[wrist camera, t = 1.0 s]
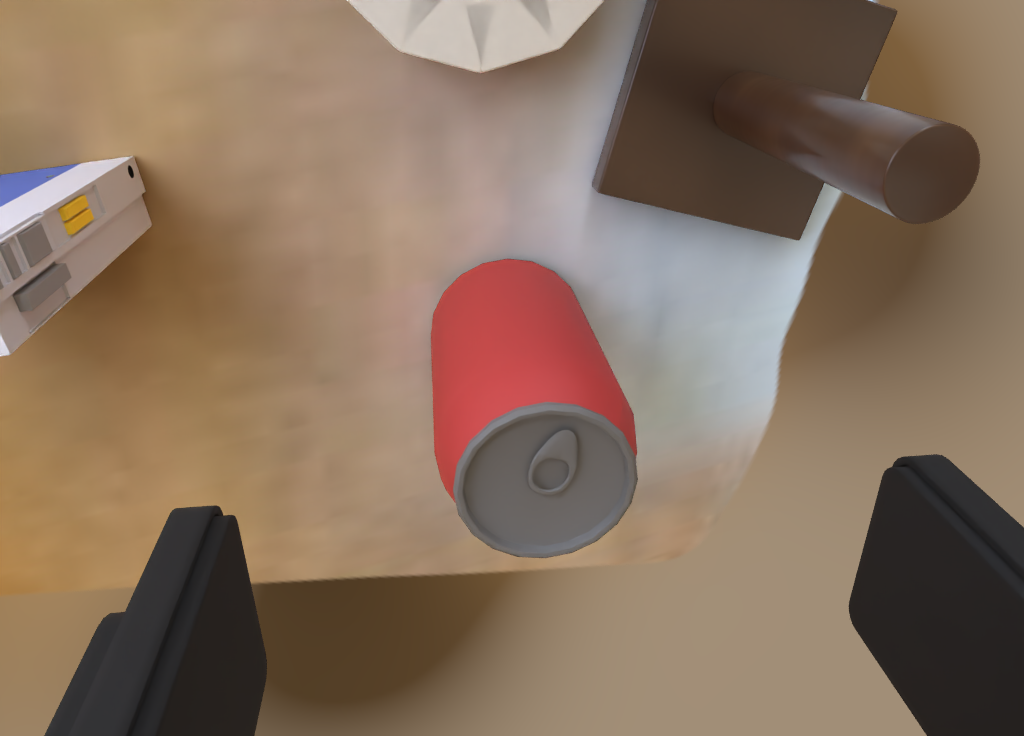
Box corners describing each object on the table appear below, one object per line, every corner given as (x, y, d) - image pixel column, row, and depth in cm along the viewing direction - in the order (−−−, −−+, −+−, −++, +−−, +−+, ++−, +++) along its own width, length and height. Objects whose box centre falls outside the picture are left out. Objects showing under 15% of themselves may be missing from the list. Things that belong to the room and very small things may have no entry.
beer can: (602, 276, 33) (690, 418, 22) (552, 405, 35) (608, 588, 25) (454, 235, 31) (472, 366, 21) (413, 373, 34) (411, 553, 23)
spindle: (664, -60, 27) (850, -93, 15) (881, 9, 29) (1194, 27, 17) (591, 185, 31) (695, 309, 19) (787, 233, 33) (992, 372, 21)
